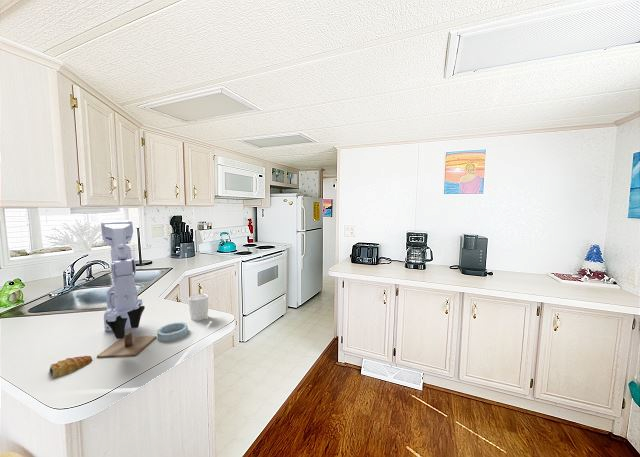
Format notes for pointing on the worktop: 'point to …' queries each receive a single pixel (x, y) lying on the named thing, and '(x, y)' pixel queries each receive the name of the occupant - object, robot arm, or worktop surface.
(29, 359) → the worktop surface
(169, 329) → the bowl
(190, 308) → the white cup
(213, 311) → the worktop surface
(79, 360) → the pastry
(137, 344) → the lid
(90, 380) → the worktop surface
